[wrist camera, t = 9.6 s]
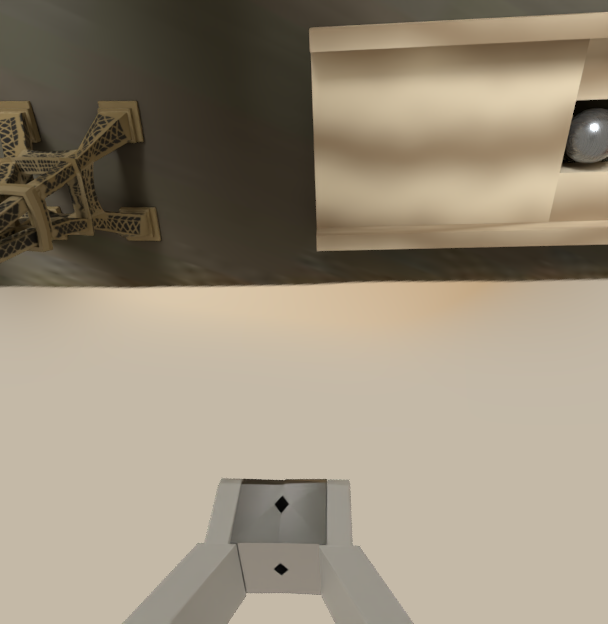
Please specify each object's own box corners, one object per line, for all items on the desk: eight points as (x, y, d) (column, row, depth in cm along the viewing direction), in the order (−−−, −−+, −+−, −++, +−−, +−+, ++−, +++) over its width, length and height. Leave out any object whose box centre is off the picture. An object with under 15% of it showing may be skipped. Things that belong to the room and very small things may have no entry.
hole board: (311, 27, 31) (307, 29, 27) (716, 6, 30) (788, 4, 25) (318, 230, 39) (316, 259, 34) (644, 221, 37) (689, 251, 32)
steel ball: (589, 102, 34) (555, 109, 32) (640, 106, 31) (605, 114, 30) (579, 153, 35) (546, 163, 34) (627, 161, 33) (593, 172, 31)
